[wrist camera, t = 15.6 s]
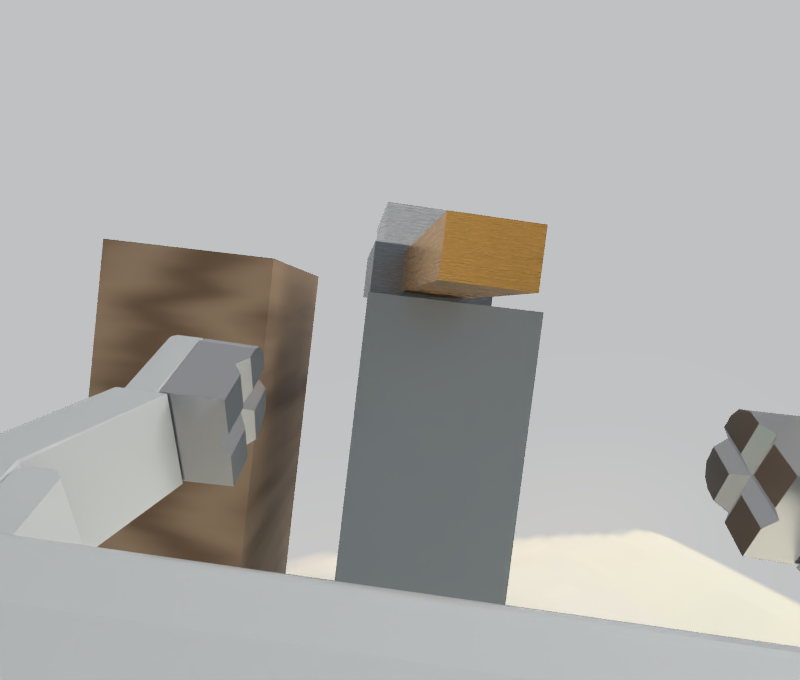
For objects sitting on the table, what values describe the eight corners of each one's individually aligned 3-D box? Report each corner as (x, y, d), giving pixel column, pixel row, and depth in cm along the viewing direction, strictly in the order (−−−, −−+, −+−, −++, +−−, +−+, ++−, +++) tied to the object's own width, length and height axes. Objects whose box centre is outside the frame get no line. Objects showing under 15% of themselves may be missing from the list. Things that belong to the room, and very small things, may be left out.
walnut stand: (277, 640, 37) (318, 276, 36) (217, 778, 26) (273, 258, 25) (163, 625, 37) (200, 263, 36) (55, 755, 26) (103, 238, 25)
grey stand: (459, 666, 36) (504, 314, 35) (477, 816, 25) (543, 312, 24) (342, 650, 37) (383, 299, 36) (310, 792, 26) (368, 291, 25)
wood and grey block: (454, 308, 35) (462, 239, 35) (585, 307, 16) (606, 155, 16) (363, 296, 35) (371, 227, 34) (386, 282, 15) (404, 122, 15)
